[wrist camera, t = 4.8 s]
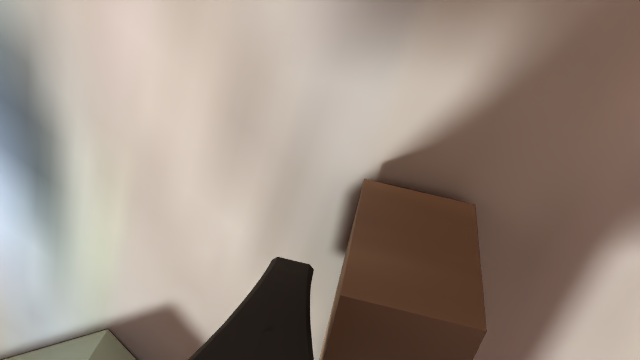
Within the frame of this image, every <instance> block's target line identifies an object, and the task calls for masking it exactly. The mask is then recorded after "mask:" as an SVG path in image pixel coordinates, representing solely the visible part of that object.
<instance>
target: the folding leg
mask: <svg viewBox="0 0 640 360" xmlns="http://www.w3.org/2000/svg"><path fill="white" fill-rule="evenodd" d="M486 331H487V330H486V319H485V308H484V297H483V286H482V275H481V264H480V253H479V242H478V231H477V221H476V210H475V205H474V204H470V203H466V202H461V201H457V200H453V199H448V198H444V197H440V196H436V195H431V194H427V193H423V192H418V191H414V190H410V189H406V188H401V187H397V186H393V185H389V184H384V183H380V182H376V181H371V180H367V179H364V181H363V186H362V190H361V194H360V198H359V202H358V206H357V210H356V214H355V218H354V222H353V226H352V230H351V234H350V238H349V242H348V246H347V250H346V254H345V258H344V262H343V266H342V270H341V274H340V278H339V282H338V286H337V290H336V294H335V298H334V302H333V306H332V311H331V315H330V319H329V323H328V327H327V331H326V335H325V339H324V343H323V347H322V351H321V355H320V359H319V360H473V358H474V356H475V354H476V352H477V350H478V348H479V345H480V343H481V341H482V339H483V337H484V335H485V333H486Z"/></svg>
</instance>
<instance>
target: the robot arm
mask: <svg viewBox="0 0 640 360" xmlns="http://www.w3.org/2000/svg"><path fill="white" fill-rule="evenodd" d="M313 271H314V269H313V268H312V267H311V266H310V265H309V264H305V263H301V262H297V261H293V260H289V259H284V258H280V257H277V258H275V259H273V260H272V261H271V263H270V265H269V267H268V268H267V270H266V271H265V273H264V274H263V276H262V277H261V279H260V280H259V281H258V283H257V284H256V285H255V287H254V288H253V289H252V291H251V292H250V293H249V294H248V296H247V297H246V298H245V299H244V301H243V302H242V303H241V304H240V305H239V307H238V308H237V309H236V310H235V311H234V312H233V314H232V315H231V316H230V317H229V318H228V319H227V321H226V322H225V323H224V324H223V325H222V326H221V327H220V328H219V329H218V330H217V331H216V332H215V333H214V334H213V335H212V336H211V337H210V338H209V339H208V341H207V342H206V343H205V344H204V345H203V346H202V347H201V348H200V349H199V350H198V351H197V352H196V353H195V354H194V355H193V356H192V357H191V358H189V359H188V360H314V358H313V349H312V338H311V326H310V289H311V281H312V276H313Z"/></svg>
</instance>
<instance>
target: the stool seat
mask: <svg viewBox="0 0 640 360" xmlns="http://www.w3.org/2000/svg"><path fill="white" fill-rule="evenodd" d="M4 360H136V359H135V358H134V357H133V356H132V355H131V353H130V352H129V351H128V350H127V349H126V348H125V347H124V346H123V345H122V344H121V343H120V342H119V341H118V340H117V339H116V337H115V336H114V335H113V334H112V333H111V332H110V331H109V330H108V329H107V330H103V331H100V332H96V333H93V334H90V335H86V336H83V337H79V338H76V339H72V340H69V341H66V342H62V343H59V344H55V345H52V346H48V347H45V348H42V349H38V350H35V351H31V352H28V353H24V354H21V355H18V356H14V357H11V358H7V359H4Z"/></svg>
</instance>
